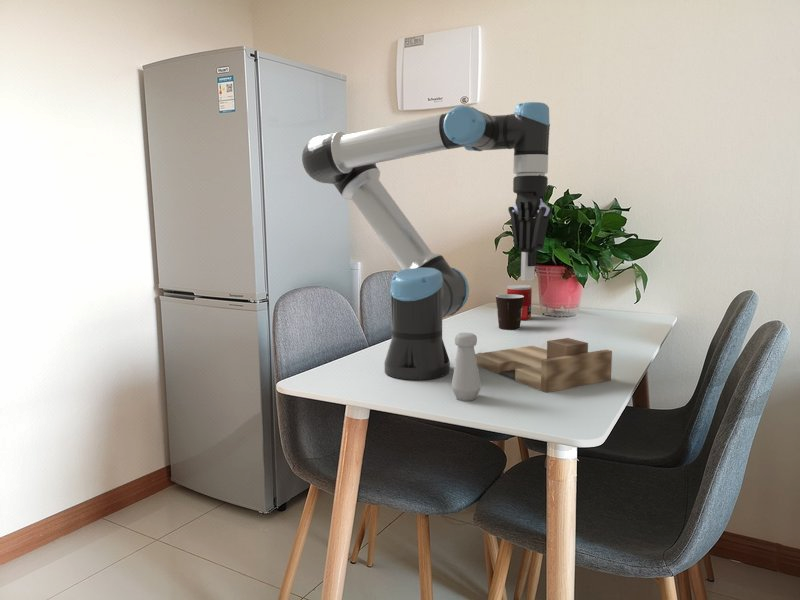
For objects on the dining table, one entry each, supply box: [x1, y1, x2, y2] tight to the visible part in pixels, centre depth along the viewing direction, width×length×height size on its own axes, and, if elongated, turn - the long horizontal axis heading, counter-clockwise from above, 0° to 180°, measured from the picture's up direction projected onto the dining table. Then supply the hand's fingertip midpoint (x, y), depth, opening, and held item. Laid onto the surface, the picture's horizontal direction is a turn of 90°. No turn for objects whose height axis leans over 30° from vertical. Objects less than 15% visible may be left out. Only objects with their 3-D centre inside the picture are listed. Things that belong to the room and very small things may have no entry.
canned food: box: [506, 284, 533, 321], centre depth 204 cm, size 8×8×11 cm
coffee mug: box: [495, 293, 524, 331], centre depth 188 cm, size 12×9×10 cm
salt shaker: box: [450, 332, 482, 402], centre depth 120 cm, size 6×6×13 cm
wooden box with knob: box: [475, 345, 613, 393], centre depth 138 cm, size 18×26×6 cm
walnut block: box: [546, 337, 589, 359], centre depth 131 cm, size 6×6×6 cm
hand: (527, 280), depth 139 cm, fingers closed
